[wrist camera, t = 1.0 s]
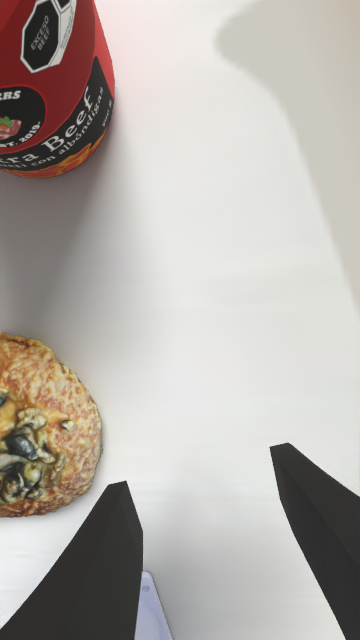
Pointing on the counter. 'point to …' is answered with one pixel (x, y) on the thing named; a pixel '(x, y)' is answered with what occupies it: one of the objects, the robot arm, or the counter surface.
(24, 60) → the canned food
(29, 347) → the mushroom cheese tart
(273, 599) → the counter surface
